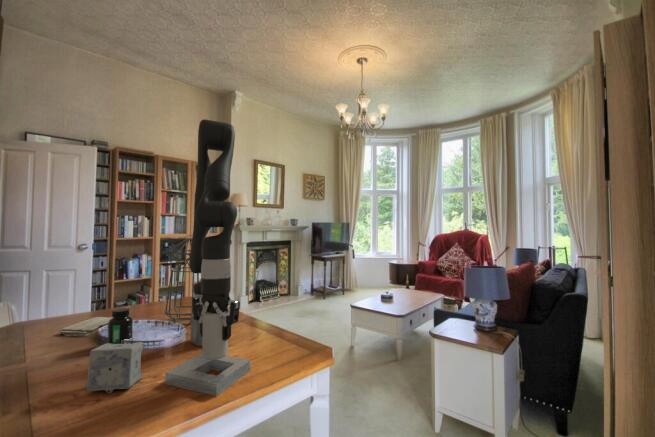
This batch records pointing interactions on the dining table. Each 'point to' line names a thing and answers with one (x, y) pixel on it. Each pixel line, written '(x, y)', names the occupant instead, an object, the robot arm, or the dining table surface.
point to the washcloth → (86, 326)
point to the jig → (197, 380)
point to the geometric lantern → (178, 278)
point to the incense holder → (114, 366)
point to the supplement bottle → (120, 326)
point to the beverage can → (213, 337)
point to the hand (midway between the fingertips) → (215, 337)
